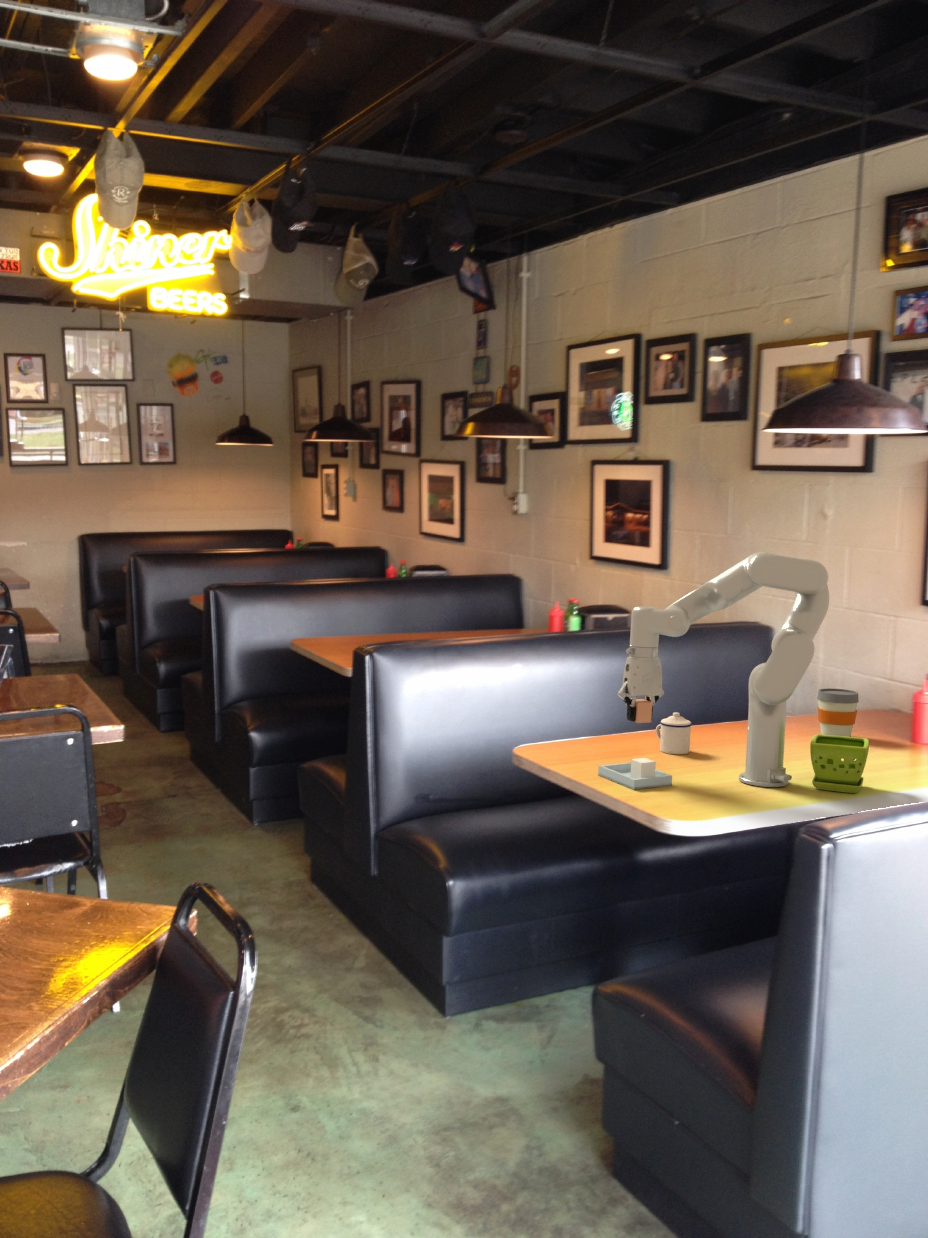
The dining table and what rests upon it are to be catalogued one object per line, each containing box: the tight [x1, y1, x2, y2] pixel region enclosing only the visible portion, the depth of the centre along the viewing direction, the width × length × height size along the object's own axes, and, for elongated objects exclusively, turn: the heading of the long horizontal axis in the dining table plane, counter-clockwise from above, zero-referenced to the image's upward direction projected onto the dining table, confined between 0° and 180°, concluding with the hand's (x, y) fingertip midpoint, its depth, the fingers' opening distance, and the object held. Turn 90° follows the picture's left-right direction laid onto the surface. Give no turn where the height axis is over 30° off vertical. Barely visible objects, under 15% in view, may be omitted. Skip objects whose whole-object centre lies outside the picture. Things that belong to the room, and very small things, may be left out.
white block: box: [630, 757, 657, 779], centre depth 264 cm, size 4×4×6 cm
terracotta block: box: [634, 698, 653, 724], centre depth 273 cm, size 4×4×6 cm
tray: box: [597, 761, 673, 791], centre depth 267 cm, size 16×12×3 cm
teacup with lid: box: [655, 712, 692, 756], centre depth 303 cm, size 12×9×12 cm
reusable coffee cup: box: [816, 687, 860, 737], centre depth 328 cm, size 13×13×15 cm
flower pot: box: [809, 733, 870, 794], centre depth 264 cm, size 14×14×13 cm
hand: (639, 719), depth 273 cm, fingers closed on terracotta block, 4 cm apart
